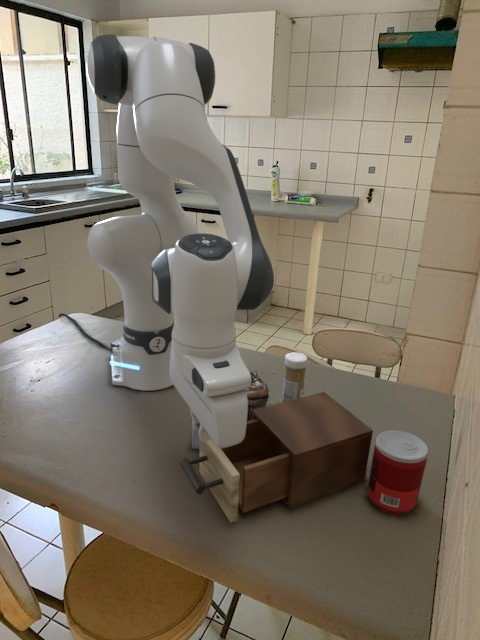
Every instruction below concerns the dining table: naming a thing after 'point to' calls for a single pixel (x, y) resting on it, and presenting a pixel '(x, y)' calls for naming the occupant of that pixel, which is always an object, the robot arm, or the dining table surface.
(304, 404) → the cabinet
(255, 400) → the cupcake
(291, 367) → the sprinkles bottle
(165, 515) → the dining table surface
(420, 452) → the canned food
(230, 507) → the drawer
